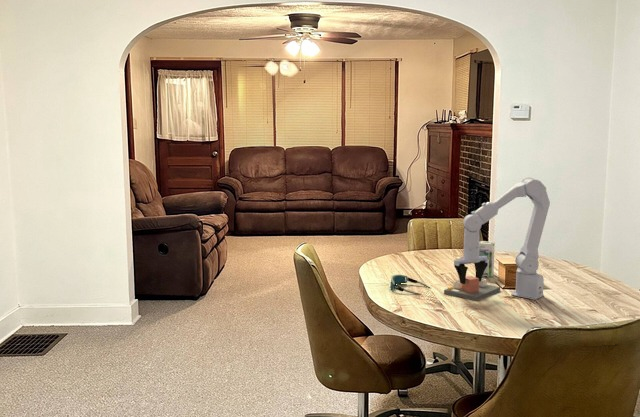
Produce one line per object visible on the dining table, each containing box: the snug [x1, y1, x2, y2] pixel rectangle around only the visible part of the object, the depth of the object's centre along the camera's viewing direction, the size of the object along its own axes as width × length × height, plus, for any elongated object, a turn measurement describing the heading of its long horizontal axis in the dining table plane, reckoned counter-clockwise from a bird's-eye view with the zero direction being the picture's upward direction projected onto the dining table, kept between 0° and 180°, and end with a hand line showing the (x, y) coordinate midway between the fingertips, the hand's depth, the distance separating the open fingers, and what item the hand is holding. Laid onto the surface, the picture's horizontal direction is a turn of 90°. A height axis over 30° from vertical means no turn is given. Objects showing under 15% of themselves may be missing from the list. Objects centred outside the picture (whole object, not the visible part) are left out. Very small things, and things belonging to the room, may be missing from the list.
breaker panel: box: [443, 284, 501, 301], centre depth 234 cm, size 14×18×2 cm
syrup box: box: [479, 240, 496, 278], centre depth 259 cm, size 6×6×14 cm
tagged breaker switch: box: [452, 279, 462, 289], centre depth 234 cm, size 2×3×3 cm
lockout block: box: [462, 275, 479, 293], centre depth 231 cm, size 4×4×5 cm
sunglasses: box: [390, 274, 431, 295], centre depth 240 cm, size 14×15×5 cm
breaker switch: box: [479, 277, 488, 287], centre depth 237 cm, size 2×3×3 cm
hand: (470, 282), depth 231 cm, fingers open, 7 cm apart
